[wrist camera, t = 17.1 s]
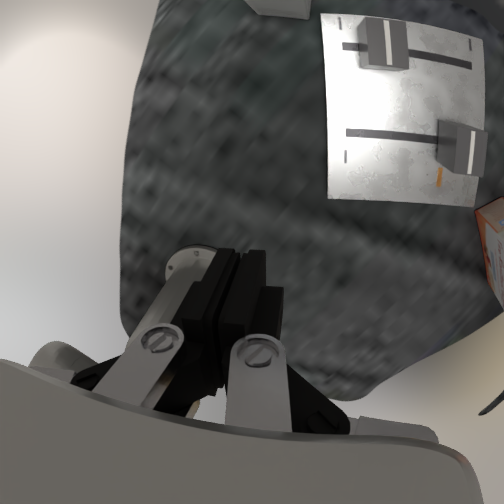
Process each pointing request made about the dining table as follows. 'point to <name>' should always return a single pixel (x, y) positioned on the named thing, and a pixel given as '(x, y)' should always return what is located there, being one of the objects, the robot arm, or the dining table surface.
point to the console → (399, 114)
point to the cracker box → (493, 244)
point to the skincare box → (282, 8)
